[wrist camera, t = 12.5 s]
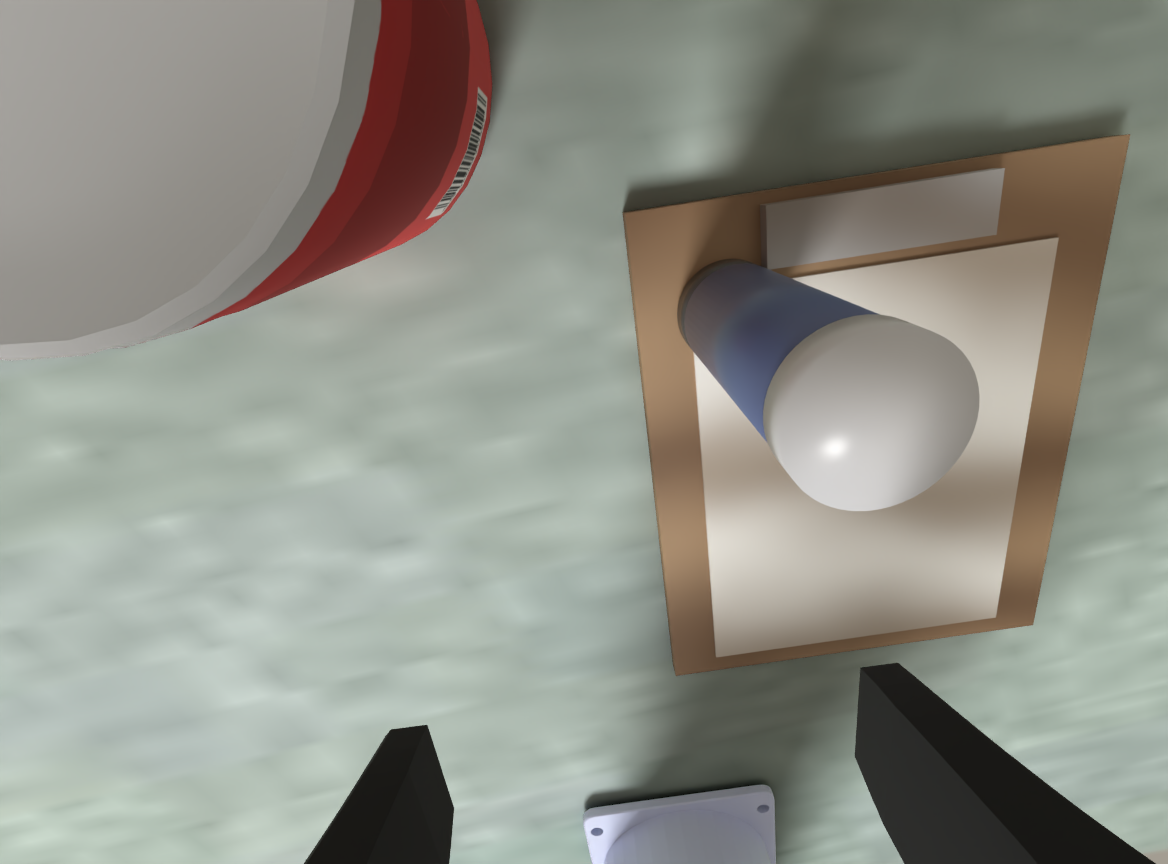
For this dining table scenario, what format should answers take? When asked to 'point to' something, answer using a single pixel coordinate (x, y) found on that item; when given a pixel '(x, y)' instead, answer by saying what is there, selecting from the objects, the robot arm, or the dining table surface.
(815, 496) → the blue cylindrical bottle
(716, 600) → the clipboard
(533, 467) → the dining table surface
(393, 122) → the canned food
